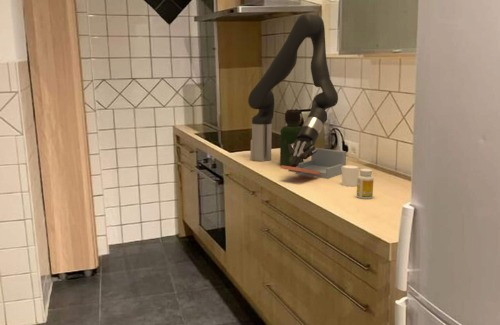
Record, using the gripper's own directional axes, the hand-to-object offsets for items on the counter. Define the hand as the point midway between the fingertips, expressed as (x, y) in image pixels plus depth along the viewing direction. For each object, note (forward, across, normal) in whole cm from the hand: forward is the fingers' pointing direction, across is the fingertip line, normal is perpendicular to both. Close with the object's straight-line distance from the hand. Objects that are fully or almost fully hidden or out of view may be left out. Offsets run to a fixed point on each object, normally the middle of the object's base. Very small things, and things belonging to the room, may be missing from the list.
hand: (293, 166), depth 195 cm
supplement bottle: (+7, +31, +2) cm, 32 cm away
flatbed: (-11, 0, +20) cm, 23 cm away
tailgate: (-6, 0, +12) cm, 14 cm away
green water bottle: (-14, -18, +24) cm, 33 cm away
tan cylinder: (-2, +19, +12) cm, 23 cm away
